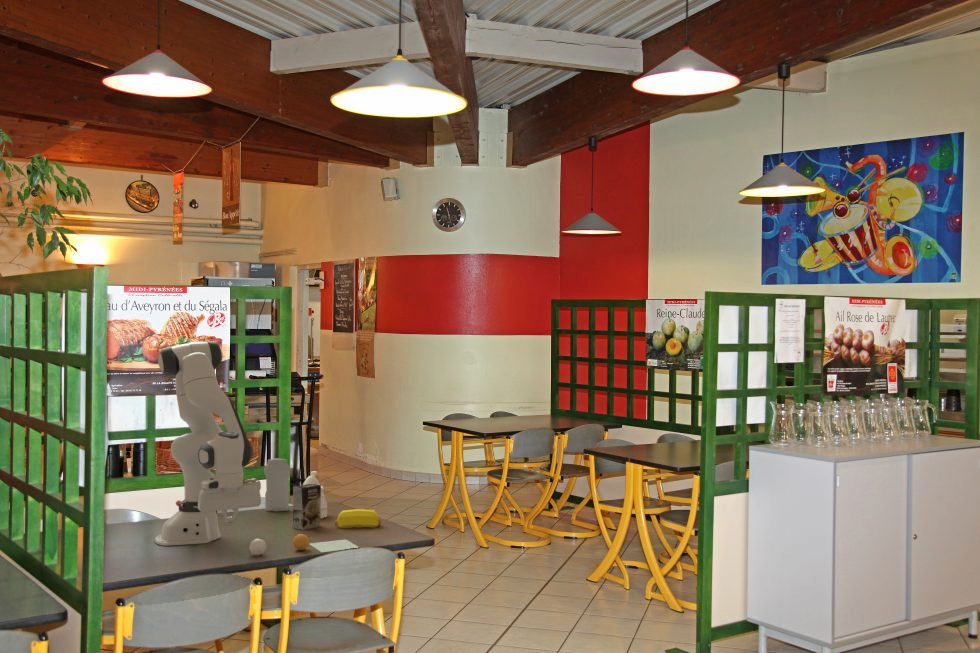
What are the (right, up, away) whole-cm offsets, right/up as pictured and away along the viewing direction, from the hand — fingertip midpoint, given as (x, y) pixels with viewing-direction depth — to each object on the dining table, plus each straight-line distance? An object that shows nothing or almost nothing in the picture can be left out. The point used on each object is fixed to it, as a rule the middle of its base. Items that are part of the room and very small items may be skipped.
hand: (230, 522), depth 298 cm
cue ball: (+8, -9, +5) cm, 13 cm away
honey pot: (+13, -13, +69) cm, 71 cm away
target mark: (+31, -12, +18) cm, 38 cm away
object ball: (+21, -10, +12) cm, 26 cm away
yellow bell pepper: (+35, -13, +50) cm, 63 cm away
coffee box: (+16, -13, +48) cm, 52 cm away
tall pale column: (-3, -13, +80) cm, 81 cm away
